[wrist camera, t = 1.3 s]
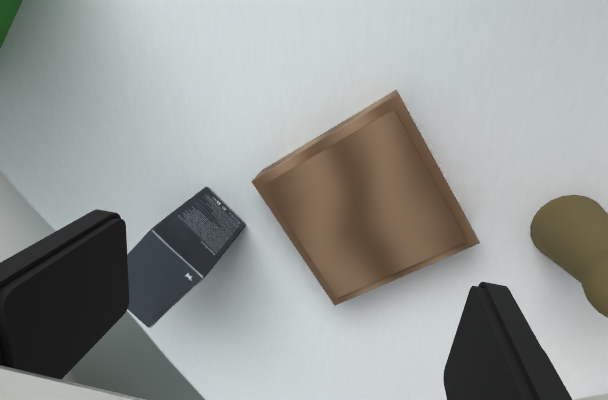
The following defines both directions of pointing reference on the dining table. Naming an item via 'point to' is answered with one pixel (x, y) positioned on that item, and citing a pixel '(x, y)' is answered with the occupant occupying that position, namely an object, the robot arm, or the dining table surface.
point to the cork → (576, 243)
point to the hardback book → (7, 16)
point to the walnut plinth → (366, 202)
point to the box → (179, 254)
